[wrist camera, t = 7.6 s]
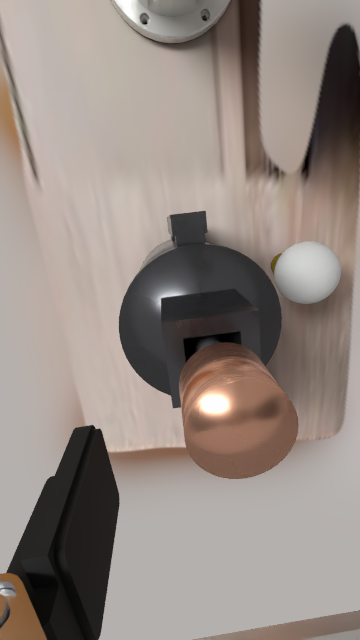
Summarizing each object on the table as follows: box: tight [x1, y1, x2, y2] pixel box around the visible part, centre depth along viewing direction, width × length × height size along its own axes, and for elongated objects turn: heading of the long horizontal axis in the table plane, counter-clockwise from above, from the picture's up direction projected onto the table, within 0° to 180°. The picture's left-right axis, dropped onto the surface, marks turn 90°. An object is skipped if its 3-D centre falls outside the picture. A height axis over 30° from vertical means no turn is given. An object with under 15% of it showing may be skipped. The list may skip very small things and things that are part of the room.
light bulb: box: [271, 241, 341, 304], centre depth 32 cm, size 6×6×10 cm
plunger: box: [179, 334, 298, 479], centre depth 16 cm, size 4×4×10 cm
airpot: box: [119, 211, 282, 408], centre depth 26 cm, size 16×11×21 cm
